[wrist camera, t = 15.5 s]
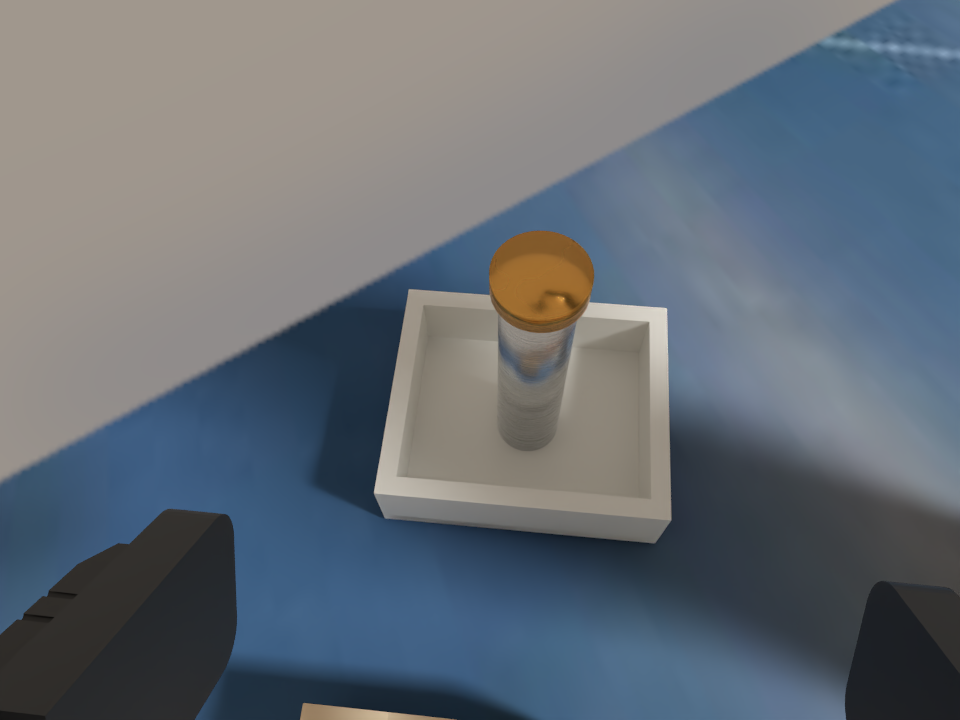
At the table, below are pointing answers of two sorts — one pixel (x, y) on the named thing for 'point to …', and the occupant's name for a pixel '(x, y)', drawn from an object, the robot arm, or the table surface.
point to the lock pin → (536, 330)
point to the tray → (544, 472)
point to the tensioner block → (354, 714)
